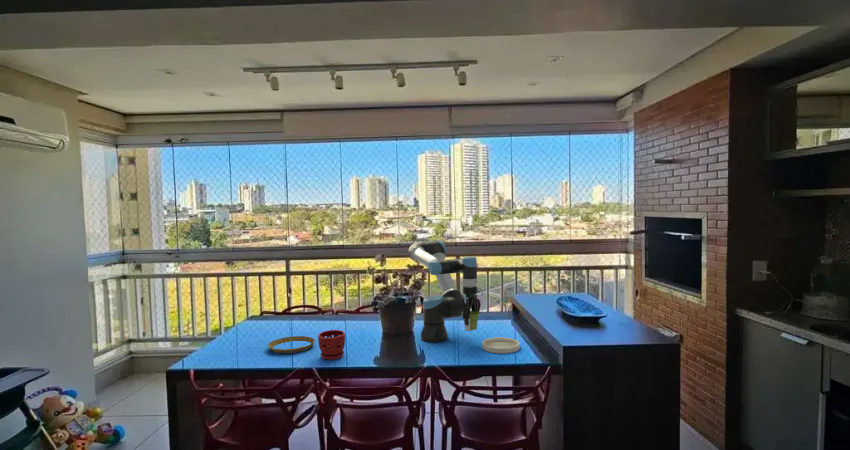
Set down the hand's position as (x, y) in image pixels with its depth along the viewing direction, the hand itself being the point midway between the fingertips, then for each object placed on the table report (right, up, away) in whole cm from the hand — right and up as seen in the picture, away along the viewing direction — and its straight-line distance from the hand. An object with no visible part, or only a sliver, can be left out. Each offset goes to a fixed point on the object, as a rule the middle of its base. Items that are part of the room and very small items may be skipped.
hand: (471, 328), depth 234 cm
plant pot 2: (0, -1, 0) cm, 1 cm away
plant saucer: (-96, -12, +3) cm, 97 cm away
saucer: (+14, -8, -8) cm, 18 cm away
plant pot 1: (-70, -11, -14) cm, 73 cm away
